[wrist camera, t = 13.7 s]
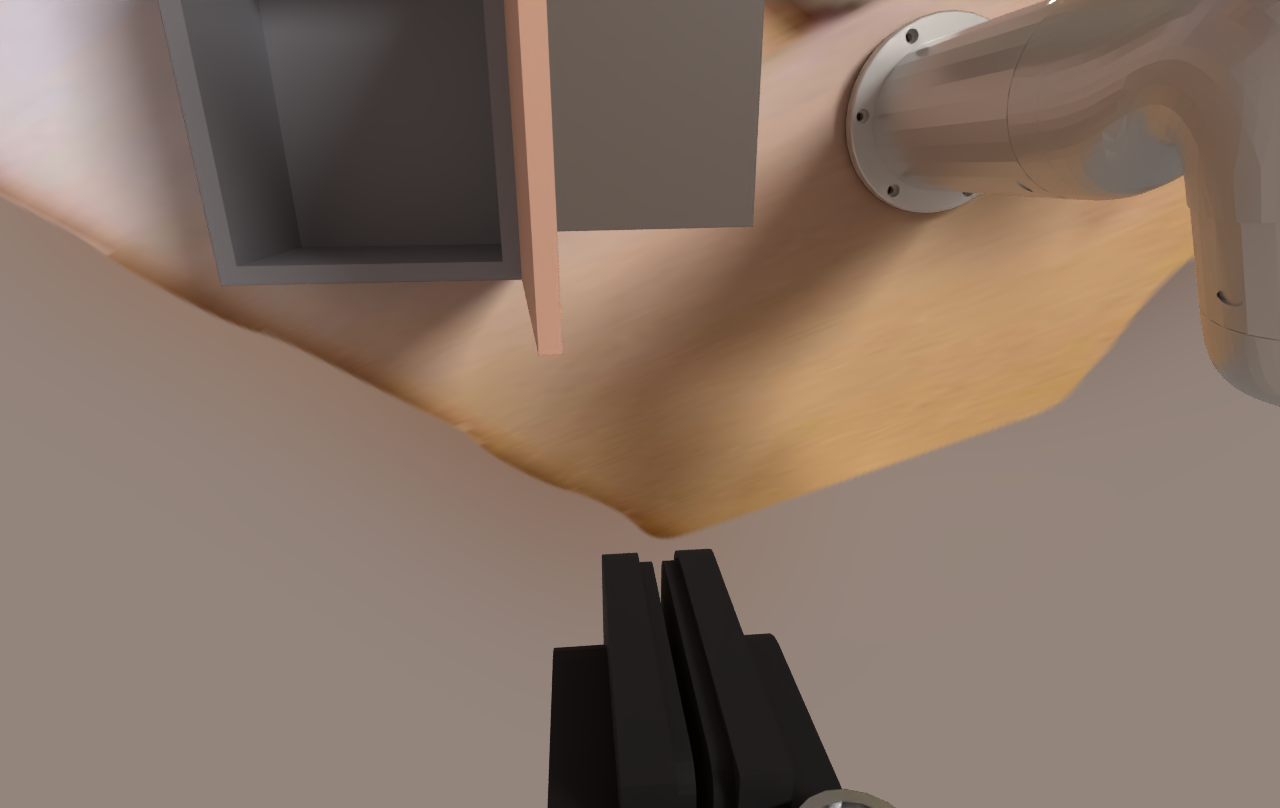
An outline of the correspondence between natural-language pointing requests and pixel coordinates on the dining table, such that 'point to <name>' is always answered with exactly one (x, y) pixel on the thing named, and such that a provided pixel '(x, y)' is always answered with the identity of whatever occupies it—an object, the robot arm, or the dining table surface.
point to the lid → (628, 124)
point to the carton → (350, 138)
